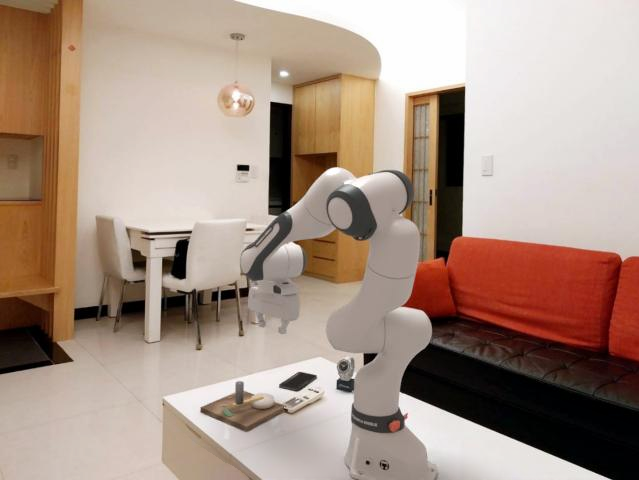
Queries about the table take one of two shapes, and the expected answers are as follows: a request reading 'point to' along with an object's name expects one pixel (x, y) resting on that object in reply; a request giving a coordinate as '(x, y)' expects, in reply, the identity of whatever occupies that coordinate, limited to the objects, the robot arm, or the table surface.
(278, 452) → the table surface
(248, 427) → the gauge panel
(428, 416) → the table surface
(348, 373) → the watch
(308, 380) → the phone
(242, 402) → the dial knob with pointer
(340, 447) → the table surface
